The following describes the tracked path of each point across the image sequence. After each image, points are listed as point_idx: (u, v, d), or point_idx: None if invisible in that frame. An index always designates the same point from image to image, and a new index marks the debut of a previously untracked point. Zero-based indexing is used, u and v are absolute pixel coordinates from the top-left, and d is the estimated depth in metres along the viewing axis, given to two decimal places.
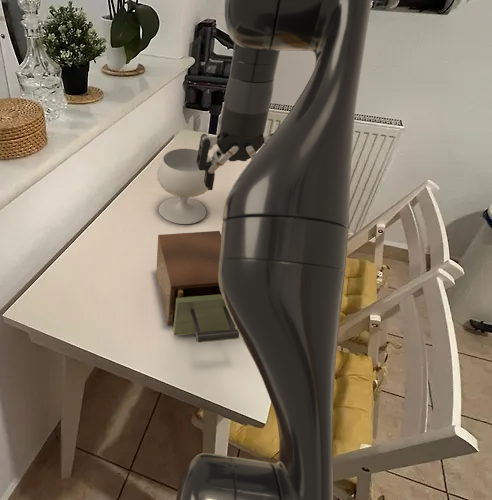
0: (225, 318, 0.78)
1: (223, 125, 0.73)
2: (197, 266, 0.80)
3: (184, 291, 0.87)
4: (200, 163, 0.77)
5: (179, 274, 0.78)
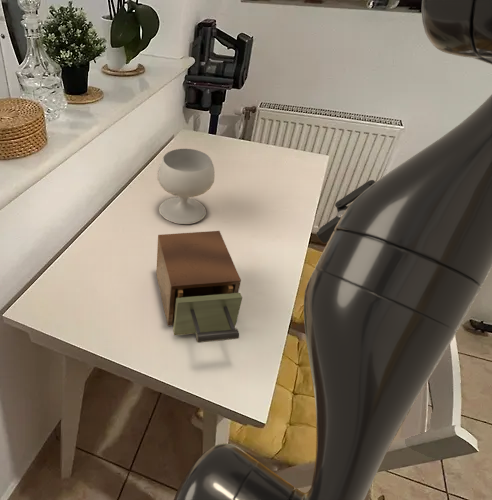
0: (225, 318, 0.78)
1: None
2: (197, 266, 0.80)
3: (184, 291, 0.87)
4: (343, 198, 0.62)
5: (179, 274, 0.78)
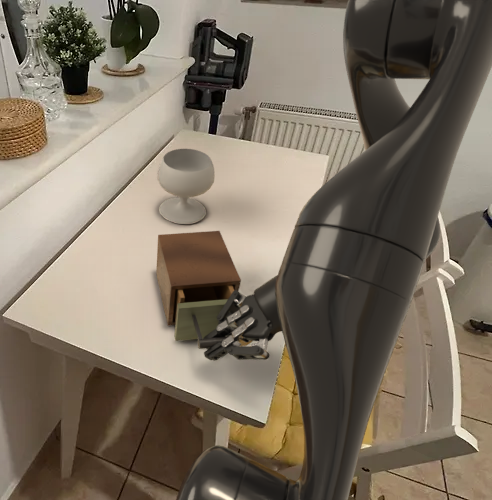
0: None
1: None
2: (197, 266, 0.80)
3: (185, 296, 0.86)
4: (220, 312, 0.72)
5: (179, 274, 0.78)
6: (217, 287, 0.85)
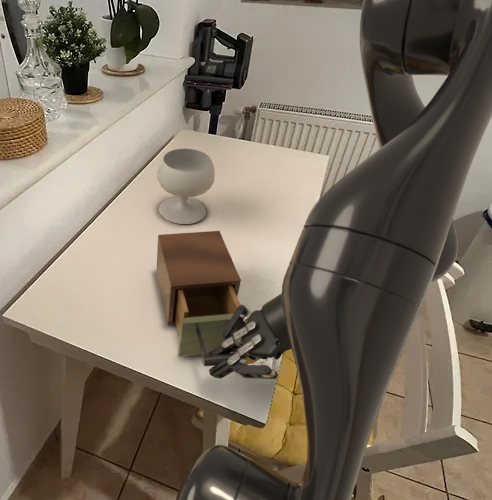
0: None
1: None
2: (197, 266, 0.80)
3: (189, 308, 0.83)
4: (226, 327, 0.70)
5: (179, 274, 0.78)
6: (222, 299, 0.82)
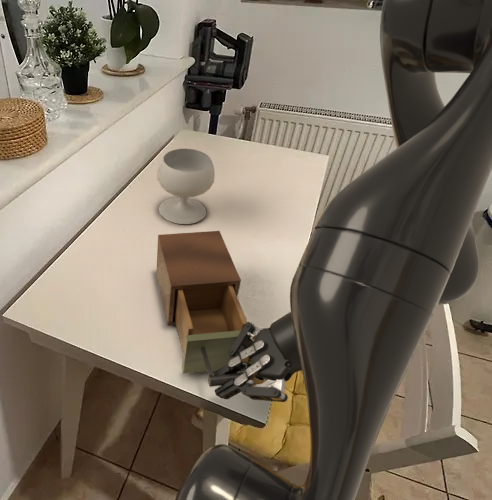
0: None
1: None
2: (197, 266, 0.80)
3: (193, 322, 0.81)
4: (232, 345, 0.67)
5: (179, 274, 0.78)
6: (227, 314, 0.79)
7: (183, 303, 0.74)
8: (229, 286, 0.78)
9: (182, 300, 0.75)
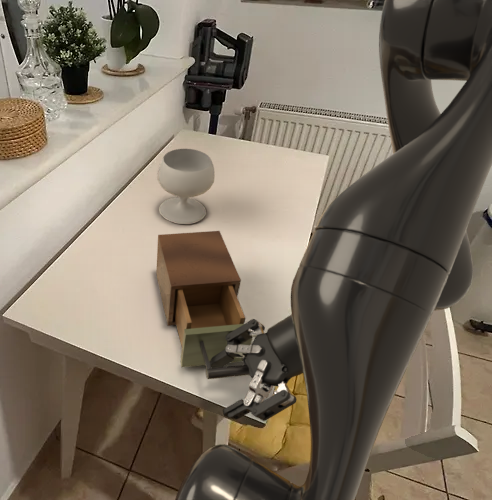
0: None
1: None
2: (197, 266, 0.80)
3: (191, 317, 0.82)
4: (231, 332, 0.69)
5: (179, 274, 0.78)
6: (225, 308, 0.80)
7: (182, 298, 0.75)
8: None
9: (181, 295, 0.76)
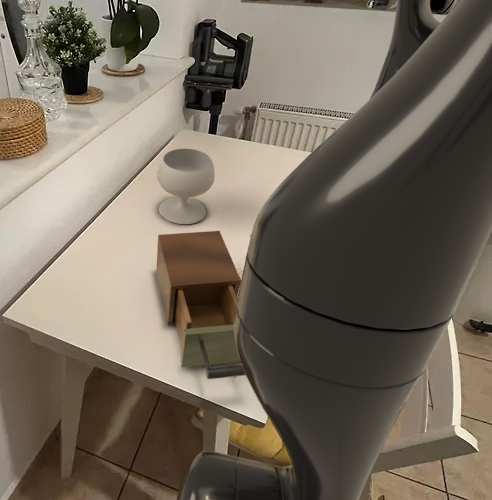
0: (236, 349, 0.73)
1: None
2: (197, 266, 0.80)
3: (191, 317, 0.82)
4: None
5: (179, 274, 0.78)
6: (225, 308, 0.80)
7: (182, 298, 0.75)
8: None
9: (181, 295, 0.76)
